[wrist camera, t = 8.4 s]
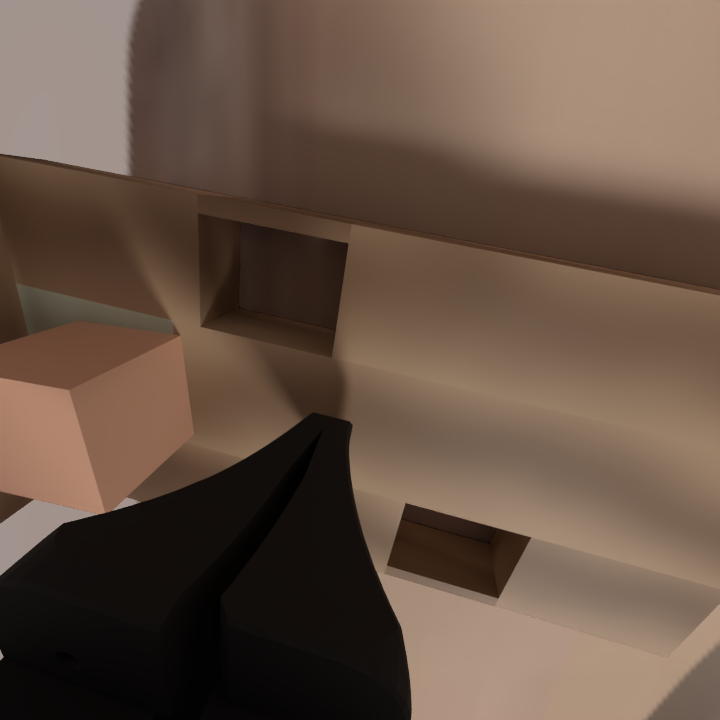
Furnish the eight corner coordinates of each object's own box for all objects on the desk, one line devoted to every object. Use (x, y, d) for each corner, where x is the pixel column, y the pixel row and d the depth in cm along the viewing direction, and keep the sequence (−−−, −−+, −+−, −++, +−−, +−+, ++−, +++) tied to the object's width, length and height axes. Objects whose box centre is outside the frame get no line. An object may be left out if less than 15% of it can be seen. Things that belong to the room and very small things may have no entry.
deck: (633, 592, 16) (727, 772, 11) (95, 441, 18) (-31, 526, 13) (850, 314, 10) (1253, 413, 5) (44, 159, 13) (-199, 126, 8)
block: (194, 433, 13) (106, 516, 10) (102, 416, 14) (-13, 488, 10) (180, 335, 12) (69, 389, 8) (78, 320, 12) (-69, 365, 9)
